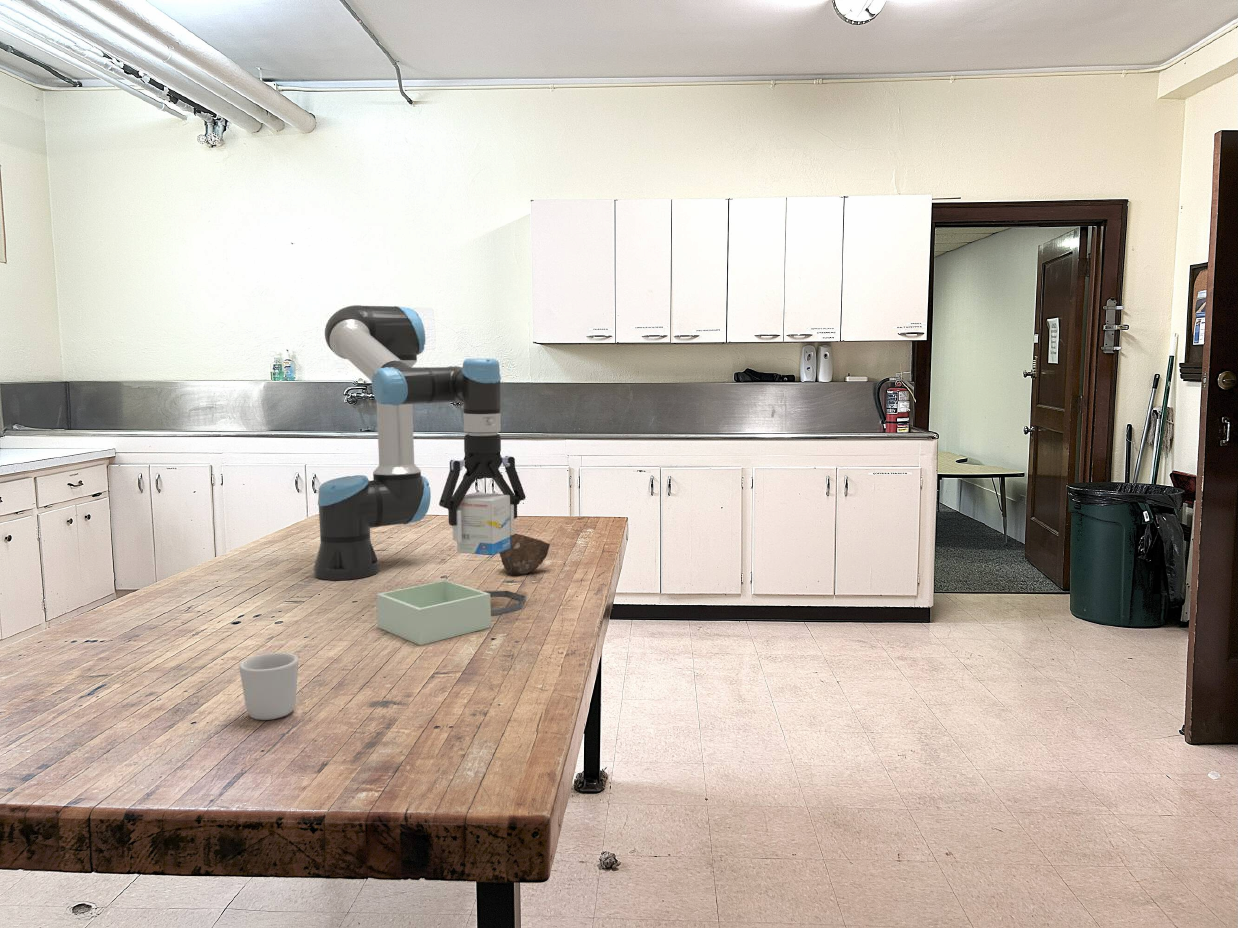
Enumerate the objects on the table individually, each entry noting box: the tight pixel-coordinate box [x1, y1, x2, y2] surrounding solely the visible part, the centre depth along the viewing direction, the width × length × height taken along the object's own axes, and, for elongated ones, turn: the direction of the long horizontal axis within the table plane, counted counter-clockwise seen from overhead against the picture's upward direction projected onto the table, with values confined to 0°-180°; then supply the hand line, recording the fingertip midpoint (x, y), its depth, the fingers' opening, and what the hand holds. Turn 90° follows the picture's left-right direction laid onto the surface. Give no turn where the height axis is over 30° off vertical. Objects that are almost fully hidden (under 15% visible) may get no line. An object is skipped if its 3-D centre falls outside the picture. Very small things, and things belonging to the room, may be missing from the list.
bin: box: [375, 579, 492, 646], centre depth 170 cm, size 16×16×7 cm
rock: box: [498, 533, 551, 576], centre depth 213 cm, size 12×10×10 cm
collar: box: [482, 590, 526, 616], centre depth 186 cm, size 16×16×1 cm
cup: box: [238, 652, 299, 721], centre depth 130 cm, size 11×8×8 cm
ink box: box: [456, 491, 510, 557], centre depth 185 cm, size 9×8×12 cm
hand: (483, 537), depth 185 cm, fingers closed on ink box, 11 cm apart
